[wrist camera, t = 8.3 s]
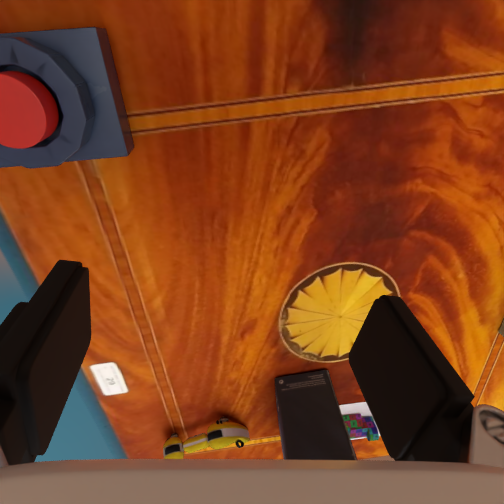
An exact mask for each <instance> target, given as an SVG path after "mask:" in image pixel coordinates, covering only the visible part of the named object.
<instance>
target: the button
mask: <svg viewBox="0 0 504 504" xmlns="http://www.w3.org/2000/svg"><path fill="white" fill-rule="evenodd" d="M58 121H59V112H58V107H57V104H56V102H55V99H54V98H53V96H52V94H51V93H50V91H49V90H48V89H47V88H46V87H45V86H44V85H43V84H42V83H41V82H40V81H39V80H37V79H36V78H34V77H32V76H30V75H28V74H26V73H23V72H19V71H4V72H0V144H1V145H4V146H7V147H11V148H17V149H23V148H29V147H32V146H34V145H36V144H37V143H39V142H41V141H43V140H44V139H46V138H48V137H49V136H51V135H52V134H53V133H54V131H55V130H56V128H57V125H58Z"/></svg>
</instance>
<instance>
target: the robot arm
mask: <svg viewBox="0 0 504 504" xmlns="http://www.w3.org/2000/svg"><path fill="white" fill-rule="evenodd" d="M90 340H91V316H90V290H89V270H88V268H86V267H82V263H81V262H76V261H67V260H59V261H58V262H57V263H56V264H55V266H54V267H53V269H52V270H51V272H50V273H49V274H48V276H47V277H46V279H45V280H44V281H43V283H42V284H41V286H40V287H39V288H38V290H37V291H36V293H35V294H34V295H33V297H32V298H31V300H30V301H29V303H28V302H20V303H18V304H17V305H16V306H15V307H14V308H13V309H12V311H11V312H10V313H9V315H8V316H7V317H6V319H5V320H4V322H2V324H1V325H0V504H504V412H503V411H502V410H500V409H498V408H496V407H493V406H490V405H486V404H482V405H478V406H476V407H475V408H474V407H473V405H472V404H471V403H470V402H471V401H472V400H473V398H474V397H475V396H474V395H473V394H472V392H471V391H470V390H469V388H468V387H467V386H466V384H465V383H464V382H463V380H462V379H461V378H460V376H459V375H458V374H457V372H456V371H455V370H454V368H453V367H452V366H451V364H450V363H449V362H448V360H447V359H446V358H445V356H444V355H443V354H442V352H441V351H440V350H439V348H438V347H437V346H436V344H435V343H434V341H433V340H432V339H431V337H430V336H429V335H428V333H427V332H426V331H425V329H424V328H423V327H422V325H421V324H420V323H419V321H418V320H417V319H416V317H415V316H414V315H413V313H412V312H411V311H410V309H409V308H408V307H407V305H406V304H405V303H404V301H403V300H402V299H401V298H400V297H397V296H388V295H382V296H380V297H379V299H376V300H375V301H374V303H373V305H372V307H371V309H370V311H369V313H368V315H367V317H366V319H365V322H364V324H363V326H362V328H361V330H360V332H359V334H358V336H357V338H356V340H355V342H354V344H353V346H352V348H351V351H350V353H349V363H350V366H351V368H352V370H353V373H354V375H355V377H356V380H357V382H358V384H359V386H360V389H361V391H362V393H363V396H364V398H365V400H366V403H367V405H368V407H369V410H370V412H371V414H372V417H373V419H374V421H375V424H376V426H377V428H378V430H379V433H380V435H381V437H382V440H383V442H384V444H385V447H386V449H387V451H388V453H389V455H390V456H391V457H392V458H394V459H395V461H368V460H367V461H366V460H273V459H101V460H64V461H45V462H34V461H35V459H36V456H37V455H43V454H44V453H45V452H46V450H47V448H48V446H49V443H50V441H51V438H52V436H53V433H54V431H55V428H56V426H57V423H58V421H59V419H60V416H61V414H62V411H63V408H64V406H65V404H66V401H67V399H68V396H69V394H70V391H71V389H72V387H73V384H74V382H75V379H76V377H77V374H78V372H79V369H80V367H81V364H82V362H83V360H84V357H85V355H86V352H87V350H88V347H89V344H90Z"/></svg>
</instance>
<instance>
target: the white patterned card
mask: <svg viewBox="0 0 504 504" xmlns="http://www.w3.org/2000/svg"><path fill="white" fill-rule="evenodd" d="M343 418H344V422H345V425H346V427H347V431H348V434H349V436H350V440H353V439H360V438H367V439H368V441H374V440H378V439H379V436H380V433H379V430H378V428H377V426H376V424H375V421H374V419H373V417H372V415H371V416H363V417H362V414H361V413H353V414H345V415H343Z"/></svg>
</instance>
